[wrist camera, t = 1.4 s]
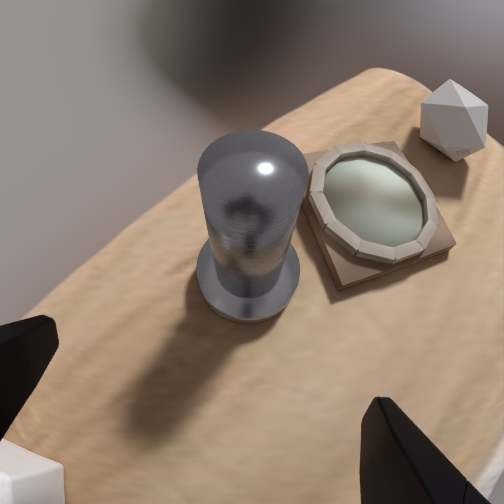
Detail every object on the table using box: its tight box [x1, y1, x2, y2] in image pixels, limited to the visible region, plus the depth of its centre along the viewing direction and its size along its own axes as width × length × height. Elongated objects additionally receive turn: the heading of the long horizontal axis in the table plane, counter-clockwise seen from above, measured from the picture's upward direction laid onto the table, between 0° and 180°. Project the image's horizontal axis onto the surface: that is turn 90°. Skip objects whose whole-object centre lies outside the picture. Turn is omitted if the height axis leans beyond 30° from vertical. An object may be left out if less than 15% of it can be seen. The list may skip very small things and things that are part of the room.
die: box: [420, 79, 488, 162], centre depth 27 cm, size 8×9×10 cm
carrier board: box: [301, 141, 456, 291], centre depth 25 cm, size 12×12×2 cm
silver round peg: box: [196, 130, 309, 324], centre depth 18 cm, size 7×7×12 cm
